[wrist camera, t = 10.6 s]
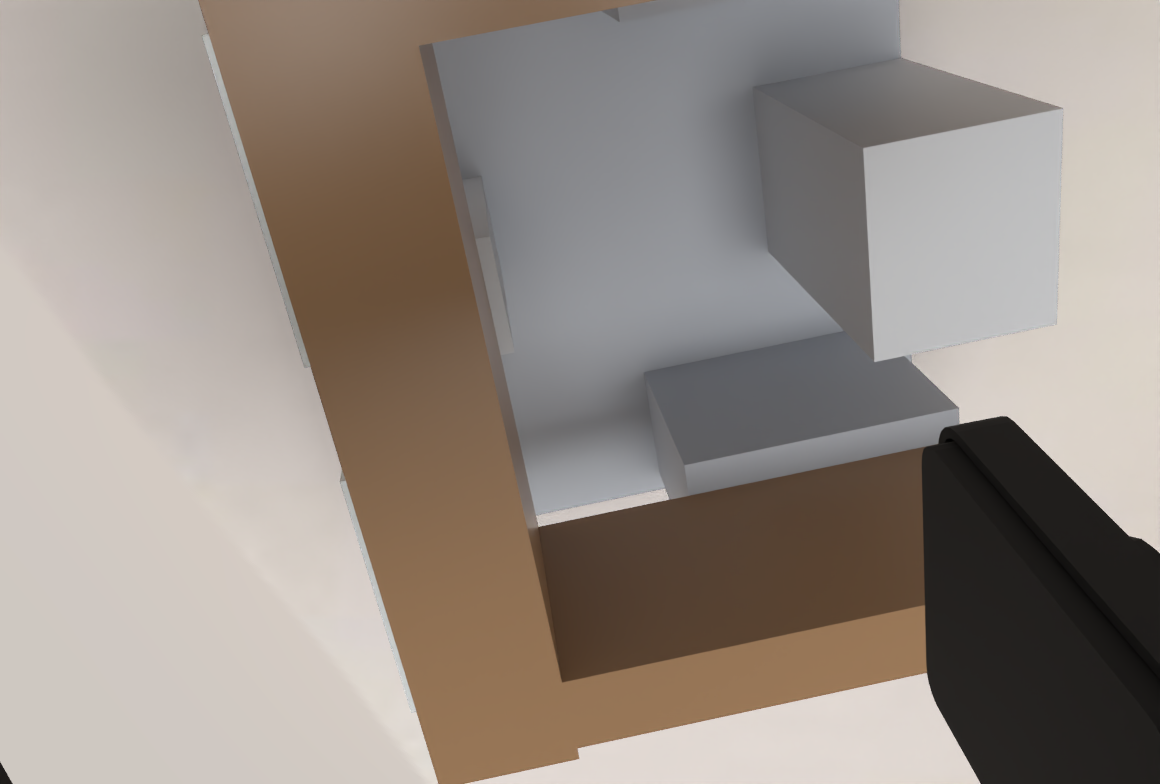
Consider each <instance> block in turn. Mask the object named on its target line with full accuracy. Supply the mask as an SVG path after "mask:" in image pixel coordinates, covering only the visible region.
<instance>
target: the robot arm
mask: <svg viewBox="0 0 1160 784" xmlns="http://www.w3.org/2000/svg"><path fill="white" fill-rule="evenodd" d="M922 502H923V545H924V588H925V631H926V667H927V675H928V680H929V684H930V688H931V691H932V694H933V697H934V700H935V702H936V704H937V706H938V708H939V710H940V712H941V714H942V715H943V717H944V719H945V721H946V722H947V724H948V726H949V728H950V730H951V731H952V733H953V735H954V737H955V738H956V740H957V742H958V744H959V746H960V747H961V749H962V751H963V753H964V754H965V756H966V758H967V760H968V762H969V763H970V765H971V767H972V769H973V770H974V772H975V774H976V776H977V778H978V779H979V781H980V783H981V784H1160V553H1159V552H1158V551H1157V550H1155V549H1154V548H1153V547H1152V546H1150V545H1149V544H1147V543H1146V542H1145V541H1143V540H1142V539H1139V538H1134V537H1130V536H1128V535H1127V534H1126V533H1125V532H1124V531H1123V530H1122V529H1121V528H1120V527H1119V526H1118V525H1117V524H1116V523H1115V522H1114V521H1113V520H1112V519H1111V518H1110V517H1109V516H1108V515H1107V514H1106V513H1105V512H1104V511H1103V510H1102V509H1101V508H1100V507H1099V506H1098V505H1097V504H1096V503H1095V502H1094V501H1093V500H1092V499H1091V498H1090V497H1089V496H1088V495H1087V494H1086V493H1085V492H1084V491H1083V490H1082V489H1081V488H1080V487H1079V486H1078V485H1077V484H1076V483H1075V482H1074V481H1073V480H1072V479H1071V478H1070V477H1069V476H1068V475H1067V474H1066V473H1065V472H1064V471H1063V470H1062V469H1061V468H1060V467H1059V466H1058V465H1057V464H1056V463H1055V462H1054V461H1053V460H1052V459H1051V458H1050V457H1049V456H1048V455H1047V454H1046V453H1045V452H1044V451H1043V450H1042V449H1041V448H1040V447H1039V446H1038V445H1037V444H1036V443H1035V442H1034V441H1033V440H1032V439H1031V438H1030V437H1029V436H1028V435H1027V434H1026V433H1025V432H1024V431H1023V430H1022V429H1021V428H1020V427H1019V426H1018V425H1017V424H1016V423H1015V422H1014V421H1013V420H1011V419H1010V418H1008V417H1005V416H1000V417H995V418H990V419H985V420H980V421H974V422H969V423H964V424H959V425H954V426H948V427H945V428H944V429H943V430H942V431H941V433H940V436H939V441H938V444H937V445H932V446H926V447H925V448H924V450H923V453H922ZM0 784H12V782H11V780H10V779H9V777H8V775H7V773H6V772H5V770H4V768H3V766H2V765H1V763H0Z"/></svg>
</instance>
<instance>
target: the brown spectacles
mask: <svg viewBox="0 0 1160 784" xmlns="http://www.w3.org/2000/svg"><path fill="white" fill-rule="evenodd" d="M198 1H199V4H200V7H201V11H202V14H203V17H204V21H205V24H206V27H207V30H208V33H207V34H205V35H203V36H202V38H203V42H204V45H205V48H206V51H207V54H208V58H209V61H210V64H211V67H212V71H213V74H214V77H215V80H216V83H217V87H218V90H219V93H220V96H221V100H222V103H223V106H224V109H225V113H226V116H227V119H228V122H229V125H230V129H231V132H232V135H233V138H234V142H235V145H236V148H237V151H238V155H239V158H240V161H241V164H242V167H243V171H244V174H245V177H246V180H247V184H248V187H249V190H250V193H251V196H252V200H253V203H254V206H255V209H256V213H257V216H258V219H259V222H260V226H261V229H262V232H263V235H264V238H265V242H266V245H267V248H268V251H269V255H270V258H271V261H272V264H273V268H274V271H275V274H276V277H277V280H278V284H279V287H280V290H281V293H282V297H283V300H284V303H285V306H286V309H287V313H288V316H289V319H290V322H291V326H292V329H293V332H294V335H295V339H296V342H297V345H298V348H299V351H300V355H301V358H302V361H303V364H304V368H307V367H311V369H312V373H313V376H314V379H315V382H316V386H317V389H318V392H319V395H320V399H321V402H322V405H323V408H324V412H325V415H326V418H327V421H328V425H329V428H330V431H331V435H332V438H333V441H334V444H335V448H336V451H337V454H338V457H339V461H340V464H341V467H342V474H341V479H340V484H341V487H342V490H343V494H344V497H345V500H346V503H347V506H348V510H349V513H350V516H351V519H352V523H353V526H354V529H355V532H356V536H357V539H358V542H359V545H360V548H361V552H362V555H363V558H364V561H365V565H366V568H367V571H368V574H369V577H370V581H371V584H372V587H373V590H374V594H375V597H376V600H377V603H378V607H379V610H380V613H381V616H382V619H383V623H384V626H385V629H386V632H387V636H388V639H389V642H390V645H391V649H392V652H393V655H394V658H395V661H396V665H397V668H398V671H399V674H400V678H401V681H402V684H403V687H404V690H405V694H406V697H407V700H408V703H409V707H410V710H411V713H413V712H417V715H418V718H419V721H420V725H421V728H422V731H423V734H424V738H425V741H426V744H427V747H428V751H429V754H430V757H431V760H432V764H433V767H434V770H435V774H436V777H437V780H438V783H439V784H465V783H470V782H474V781H479V780H484V779H488V778H493V777H497V776H502V775H507V774H511V773H516V772H521V771H525V770H530V769H534V768H539V767H544V766H548V765H553V764H557V763H562V762H567V761H571V760H576V759H579V755H578V748H581V747H585V746H590V745H594V744H599V743H604V742H608V741H613V740H618V739H622V738H627V737H631V736H636V735H641V734H645V733H650V732H655V731H659V730H664V729H668V728H673V727H678V726H682V725H687V724H692V723H696V722H701V721H705V720H710V719H715V718H719V717H724V716H729V715H733V714H738V713H742V712H747V711H752V710H756V709H761V708H766V707H770V706H775V705H780V704H784V703H789V702H793V701H798V700H803V699H807V698H812V697H817V696H821V695H826V694H830V693H835V692H840V691H844V690H849V689H854V688H858V687H863V686H867V685H872V684H877V683H881V682H886V681H891V680H895V679H900V678H904V677H909V676H914V675H918V674H923V673H927V667H926V631H925V588H924V545H923V502H922V453H923V450H924V448H925V447H921V448H916V449H911V450H906V451H902V452H897V453H892V454H887V455H882V456H878V457H873V458H868V459H863V460H858V461H854V462H849V463H844V464H839V465H834V466H830V467H825V468H820V469H815V470H810V471H806V472H801V473H796V474H791V475H786V476H782V477H777V478H772V479H767V480H762V481H758V482H753V483H748V484H743V485H738V486H734V487H729V488H724V489H719V490H714V491H710V492H705V493H700V494H695V495H690V496H686V497H681V498H676V499H671V500H666V501H662V502H657V503H652V504H647V505H642V506H638V507H633V508H628V509H623V510H618V511H613V512H609V513H604V514H599V515H594V516H589V517H585V518H580V519H575V520H570V521H565V522H561V523H556V524H551V525H546V526H541V527H538V523H537V518H536V514H535V509H534V505H533V500H532V496H531V491H530V487H529V482H528V477H527V473H526V468H525V464H524V459H523V455H522V450H521V446H520V441H519V436H518V432H517V427H516V423H515V418H514V414H513V409H512V405H511V400H510V395H509V391H508V386H507V382H506V377H505V373H504V368H503V364H502V359H501V354H500V350H499V345H498V341H497V336H496V332H495V327H494V323H493V318H492V313H491V309H490V304H489V300H488V295H487V291H486V286H485V282H484V277H483V272H482V268H481V263H480V259H479V254H478V250H477V245H476V241H475V236H474V231H473V227H472V222H471V218H470V213H469V209H468V204H467V200H466V195H465V190H464V186H463V181H462V177H461V172H460V168H459V163H458V159H457V154H456V149H455V145H454V140H453V136H452V131H451V127H450V122H449V118H448V113H447V108H446V104H445V99H444V95H443V90H442V86H441V81H440V77H439V72H438V67H437V63H436V58H435V54H434V49H433V45H432V43H436V42H441V41H446V40H451V39H456V38H462V37H467V36H472V35H477V34H483V33H488V32H493V31H498V30H504V29H509V28H514V27H519V26H525V25H530V24H535V23H540V22H545V21H551V20H556V19H561V18H566V17H572V16H577V15H582V14H587V13H593V12H598V11H603V10H608V9H614V8H619V7H624V6H629V5H634V4H640V3H645V2H650V1H655V0H198ZM935 445H937V444H935ZM930 446H932V445H930Z"/></svg>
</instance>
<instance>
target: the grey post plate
mask: <svg viewBox="0 0 1160 784" xmlns="http://www.w3.org/2000/svg"><path fill="white" fill-rule="evenodd" d="M432 45H433V49H434V54H435V58H436V63H437V67H438V72H439V77H440V81H441V86H442V90H443V95H444V99H445V104H446V108H447V113H448V118H449V122H450V127H451V131H452V136H453V140H454V145H455V149H456V154H457V159H458V163H459V168H460V172H461V177H462V181H463V186H464V190H465V195H466V200H467V204H468V209H469V213H470V218H471V222H472V227H473V231H474V236H475V241H476V245H477V250H478V254H479V259H480V263H481V268H482V272H483V277H484V282H485V286H486V291H487V295H488V300H489V304H490V309H491V313H492V318H493V323H494V327H495V332H496V336H497V341H498V345H499V350H500V354H501V359H502V364H503V368H504V373H505V377H506V382H507V386H508V391H509V395H510V400H511V405H512V409H513V414H514V418H515V423H516V427H517V432H518V436H519V441H520V446H521V450H522V455H523V459H524V464H525V468H526V473H527V477H528V482H529V487H530V491H531V496H532V500H533V505H534V509H535V514H536V515H540V514H545V513H550V512H554V511H559V510H564V509H569V508H573V507H578V506H583V505H588V504H593V503H597V502H602V501H607V500H612V499H617V498H621V497H626V496H631V495H636V494H640V493H645V492H650V491H655V490H660V489H664V488H666V491H667V493H668V496H669V499H670V500H671V499H676V498H681V497H686V496H690V495H695V494H700V493H705V492H710V491H714V490H719V489H724V488H729V487H734V486H738V485H743V484H748V483H753V482H758V481H762V480H767V479H772V478H777V477H782V476H786V475H791V474H796V473H801V472H806V471H810V470H815V469H820V468H825V467H830V466H834V465H839V464H844V463H849V462H854V461H858V460H863V459H868V458H873V457H878V456H882V455H887V454H892V453H897V452H902V451H906V450H911V449H916V448H921V447H926V446H930V445H935V444H938V441H939V436H940V433H941V431H942V430H943V429H944V428H945V427H948V426H954V425H959V408H958V407H957V406H956V405H955V404H954V403H953V402H952V401H951V400H950V399H949V398H948V397H947V396H946V395H945V394H944V393H943V392H941V391H940V390H939V389H938V388H937V387H936V386H935V385H934V384H933V383H932V382H931V381H930V380H929V379H928V378H927V377H926V376H925V375H924V374H923V373H922V372H921V371H920V370H919V369H917V368H916V367H915V366H914V365H913V364H912V357H911V354H916V353H921V352H926V351H931V350H936V349H940V348H945V347H950V346H955V345H960V344H965V343H970V342H974V341H979V340H984V339H989V338H994V337H999V336H1004V335H1008V334H1013V333H1018V332H1023V331H1028V330H1033V329H1037V328H1042V327H1047V326H1052V325H1057V304H1058V270H1059V236H1060V202H1061V168H1062V134H1063V108H1060V107H1057V106H1054V105H1051V104H1048V103H1044V102H1041V101H1038V100H1035V99H1031V98H1028V97H1025V96H1022V95H1019V94H1015V93H1012V92H1009V91H1006V90H1002V89H999V88H996V87H993V86H990V85H986V84H983V83H980V82H977V81H973V80H970V79H967V78H964V77H961V76H957V75H954V74H951V73H948V72H944V71H941V70H938V69H935V68H932V67H928V66H925V65H922V64H919V63H915V62H912V61H909V60H906V59H903V58H901V50H900V22H899V0H655V1H650V2H645V3H640V4H634V5H629V6H624V7H619V8H614V9H608V10H603V11H598V12H593V13H587V14H582V15H577V16H572V17H566V18H561V19H556V20H551V21H545V22H540V23H535V24H530V25H525V26H519V27H514V28H509V29H504V30H498V31H493V32H488V33H483V34H477V35H472V36H467V37H462V38H456V39H451V40H446V41H441V42H436V43H432Z"/></svg>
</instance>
